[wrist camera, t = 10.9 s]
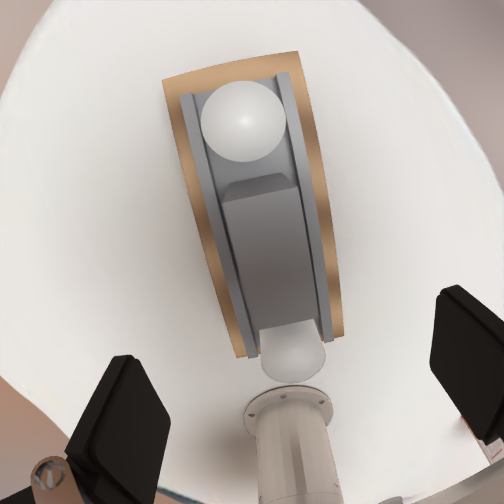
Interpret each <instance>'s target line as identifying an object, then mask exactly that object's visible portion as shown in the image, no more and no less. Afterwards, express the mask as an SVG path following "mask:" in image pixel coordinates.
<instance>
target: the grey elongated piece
mask: <svg viewBox="0 0 504 504" xmlns="http://www.w3.org/2000/svg"><path fill="white" fill-rule="evenodd" d="M179 98H180V102H181V107H182V111H183V115H184V120H185V124H186V128H187V132H188V137H189V141H190V145H191V149H192V153H193V157H194V161H195V165H196V169H197V173H198V177H199V181H200V185H201V189H202V193H203V197H204V201H205V205H206V209H207V213H208V217H209V220H210V224H211V228H212V232H213V236H214V239H215V243H216V247H217V250H218V254H219V258H220V261H221V265H222V269H223V272H224V276H225V280H226V283H227V287H228V290H229V294H230V297H231V301H232V304H233V308H234V311H235V315H236V318H237V322H238V325H239V329H240V332H241V335H242V339H243V342H244V346H245V349H246V352H247V356H248V359H249V358H255V357H258V348H261V363H262V368H263V370H264V372H265V373H266V375H267V376H269V377H270V378H271V379H273V380H275V381H278V382H281V383H298V382H302V381H305V380H307V379H309V378H311V377H312V376H314V375H315V374H316V373H317V372H318V371H319V370H320V369H321V368H322V366H323V364H324V361H325V350H324V347H323V345H322V342H321V339H320V336H319V335H322V338H323V341H324V343H327V342H331V341H334V337H333V326H332V317H331V307H330V299H329V290H328V282H327V274H326V267H325V259H324V252H323V245H322V238H321V232H320V225H319V219H318V213H317V207H316V201H315V195H314V189H313V184H312V178H311V173H310V168H309V162H308V157H307V152H306V147H305V142H304V137H303V133H302V128H301V123H300V119H299V114H298V109H297V105H296V101H295V96H294V92H293V88H292V84H291V80H290V76H289V72H283V73H276V75H275V77H273V78H267V79H262V80H256V81H235V82H231V83H228V84H226V85H223V86H222V87H220V88H218V89H215V90H211V91H207V92H203V93H199V94H195V95H194V94H193V93H192V92H190V93H186V94H182V95H179Z"/></svg>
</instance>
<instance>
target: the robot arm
mask: <svg viewBox="0 0 504 504" xmlns="http://www.w3.org/2000/svg"><path fill="white" fill-rule="evenodd" d="M429 363H430V368H431V371H432V372H433V374H434V375H435V377H436V378H437V379H438V381H439V382H440V384H441V385H442V387H443V388H444V389H445V391H446V392H447V394H448V395H449V397H450V398H451V400H452V401H453V403H454V404H455V406H456V407H457V409H458V410H459V412H460V413H461V415H462V416H463V418H464V420H465V421H466V423H467V424H468V426H469V427H470V429H471V430H472V432H473V434H474V435H475V437H476V438H477V439H478V440H482V441H483V442H484V444H485V446H487V445H489V444H491V443H492V442H494V441H496V440H497V439H499V438H501V440H502V441H503V446H502V451H501V456H500V460H498V461H497V462H495V463H493V464H492V465H490V466H488V467H487V468H485V469H483V470H481V471H480V472H478V473H476V474H474V475H473V476H471V477H469V478H467V479H465V480H463V481H461V482H459V483H457V484H455V485H453V486H451V487H449V488H447V489H445V490H443V491H441V492H438V493H436V494H434V495H432V496H429V497H427V498H425V499H422V500H420V501H417V502H415V503H412V504H504V321H502V320H501V319H500V318H499V317H498V316H497V315H495V314H494V313H493V312H492V311H491V310H489V309H488V308H487V307H486V306H485V305H483V304H482V303H481V302H480V301H478V300H477V299H476V298H475V297H473V296H472V295H471V294H470V293H468V292H467V291H466V290H465V289H463V288H462V287H461V286H459V285H454V286H451V287H448V288H444V289H442V290H441V292H440V295H438V296H437V298H436V309H435V320H434V330H433V339H432V346H431V354H430V361H429ZM332 417H333V408H332V404H331V402H330V399H329V398H328V397H327V396H326V395H325V394H323V393H322V392H320V391H318V390H316V389H312V388H308V387H300V386H294V387H284V388H279V389H275V390H271V391H269V392H267V393H264V394H262V395H261V396H259V397H257V398H256V399H255V400H253V401H252V402H251V403H250V404H249V406H248V407H247V409H246V411H245V415H244V424H245V427H246V429H247V431H248V432H249V433H250V434H251V435H252V436H254V437H255V438H256V452H257V478H258V504H344V501H343V496H342V492H341V488H340V483H339V479H338V475H337V471H336V466H335V462H334V458H333V454H332V450H331V446H330V441H329V437H328V433H327V429H326V427H327V426H328V424H329V423H330V421H331V419H332ZM170 425H171V421H170V417H169V414H168V413H167V411H166V409H165V407H164V406H163V404H162V402H161V400H160V399H159V397H158V395H157V393H156V391H155V389H154V388H153V386H152V384H151V382H150V380H149V378H148V376H147V374H146V372H145V370H144V368H143V366H142V364H141V362H140V361H139V360H138V359H135V358H134V357H133V356H132V355H121V356H114V357H113V358H112V360H111V362H110V364H109V365H108V367H107V369H106V371H105V373H104V375H103V376H102V378H101V380H100V382H99V384H98V386H97V388H96V389H95V391H94V393H93V395H92V397H91V399H90V401H89V403H88V405H87V407H86V409H85V410H84V412H83V414H82V416H81V418H80V420H79V422H78V424H77V426H76V428H75V430H74V432H73V434H72V436H71V438H70V441H69V443H68V445H67V447H66V449H65V451H64V452H65V453H66V454H67V455H68V457H67V459H66V460H65V459H63V458H62V457H59V456H50V457H46V458H45V459H43V460H41V461H39V462H38V464H37V465H35V467H34V469H33V470H32V473H31V486H29V487H27V488H25V489H23V490H21V491H19V492H17V493H15V494H13V495H11V496H9V497H7V498H5V499H3V500H1V501H0V504H153V503H154V498H155V493H156V489H157V484H158V479H159V475H160V470H161V465H162V461H163V456H164V452H165V447H166V443H167V439H168V434H169V430H170Z"/></svg>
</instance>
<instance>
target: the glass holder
mask: <svg viewBox="0 0 504 504" xmlns="http://www.w3.org/2000/svg"><path fill="white" fill-rule="evenodd" d="M379 504H403V503H402V497H394V498H390V499H387V500H385V501H383V502H381V503H379Z"/></svg>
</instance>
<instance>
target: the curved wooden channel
mask: <svg viewBox="0 0 504 504" xmlns="http://www.w3.org/2000/svg"><path fill="white" fill-rule="evenodd" d="M283 72H289V76H290V80H291V84H292V88H293V92H294V96H295V101H296V105H297V109H298V114H299V119H300V123H301V128H302V133H303V137H304V142H305V147H306V152H307V157H308V162H309V168H310V173H311V178H312V184H313V189H314V195H315V201H316V207H317V213H318V219H319V225H320V232H321V238H322V245H323V252H324V259H325V267H326V274H327V282H328V290H329V299H330V307H331V317H332V326H333V337H334V338H337V337H341V336H344V327H343V315H342V303H341V292H340V282H339V273H338V264H337V255H336V247H335V239H334V232H333V225H332V218H331V211H330V204H329V198H328V191H327V185H326V179H325V174H324V168H323V162H322V157H321V152H320V146H319V141H318V136H317V131H316V126H315V121H314V117H313V112H312V107H311V103H310V99H309V94H308V90H307V86H306V81H305V77H304V73H303V69H302V65H301V61H300V57H299V54H298V51H293V52H285V53H278V54H271V55H265V56H259V57H254V58H248V59H243V60H238V61H233V62H228V63H224V64H220V65H215V66H211V67H207V68H203V69H199V70H195V71H192V72H188V73H184V74H181V75H178V76H174V77H171V78H168V79H164V80H162V84H163V89H164V93H165V98H166V102H167V107H168V111H169V116H170V120H171V124H172V129H173V133H174V137H175V141H176V146H177V150H178V154H179V158H180V162H181V166H182V170H183V174H184V178H185V182H186V186H187V190H188V194H189V198H190V201H191V205H192V209H193V213H194V216H195V220H196V224H197V227H198V231H199V235H200V238H201V242H202V246H203V249H204V253H205V256H206V260H207V263H208V267H209V270H210V274H211V277H212V280H213V284H214V287H215V291H216V294H217V297H218V301H219V304H220V307H221V311H222V314H223V317H224V320H225V323H226V327H227V330H228V333H229V336H230V339H231V343H232V346H233V349H234V352H235V355H236V358H240V357H246V356H247V352H246V349H245V346H244V342H243V339H242V335H241V332H240V329H239V325H238V322H237V318H236V315H235V311H234V308H233V304H232V301H231V297H230V294H229V290H228V287H227V283H226V280H225V276H224V272H223V269H222V265H221V261H220V258H219V254H218V250H217V247H216V243H215V239H214V236H213V232H212V228H211V224H210V220H209V217H208V213H207V209H206V205H205V201H204V197H203V193H202V189H201V185H200V181H199V177H198V173H197V169H196V165H195V161H194V157H193V153H192V149H191V145H190V141H189V137H188V132H187V128H186V124H185V120H184V115H183V111H182V107H181V102H180V98H179V95H182V94H186V93H190V92H192V93H193V94H194V95H195V94H199V93H203V92H207V91H211V90H215V89H218V88H220V87H222V86H223V85H226V84H228V83H231V82H235V81H256V80H262V79H267V78H273V77H275V75H276V73H283ZM319 336H320V339H321V341H323V338H322V335H319ZM258 354H261V348H258Z"/></svg>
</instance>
